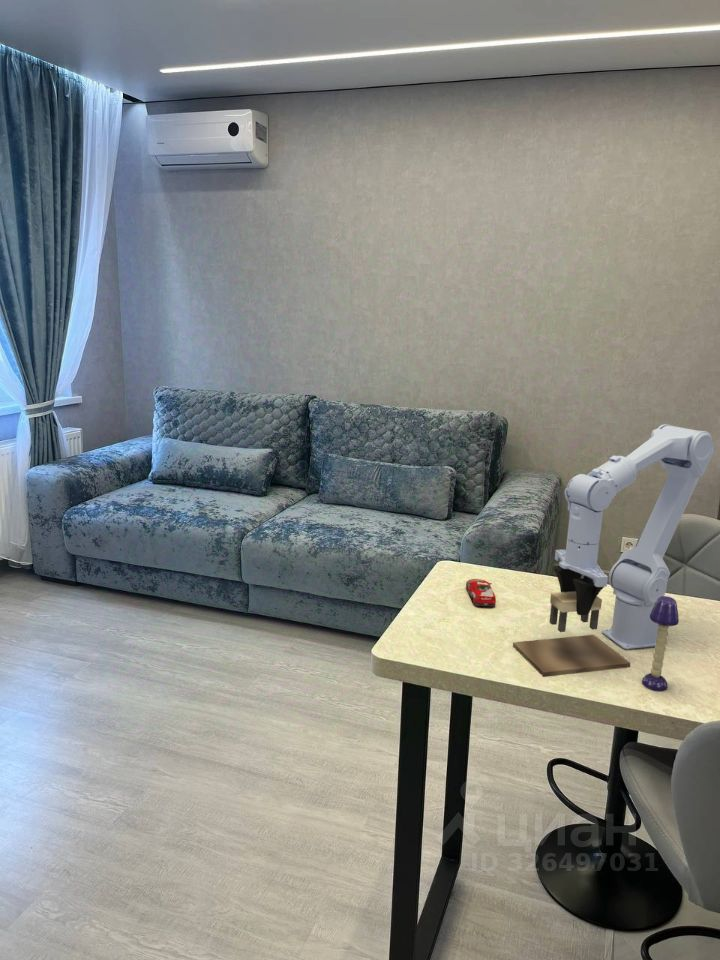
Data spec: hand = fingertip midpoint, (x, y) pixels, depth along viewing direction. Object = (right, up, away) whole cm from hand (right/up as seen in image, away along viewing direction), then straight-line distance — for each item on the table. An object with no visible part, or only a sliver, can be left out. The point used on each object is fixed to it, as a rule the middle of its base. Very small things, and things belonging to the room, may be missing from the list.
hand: (575, 608), depth 133 cm
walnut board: (0, -10, +2) cm, 10 cm away
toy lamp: (+12, -13, -7) cm, 19 cm away
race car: (-13, -3, +29) cm, 32 cm away
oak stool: (0, -3, +1) cm, 4 cm away
